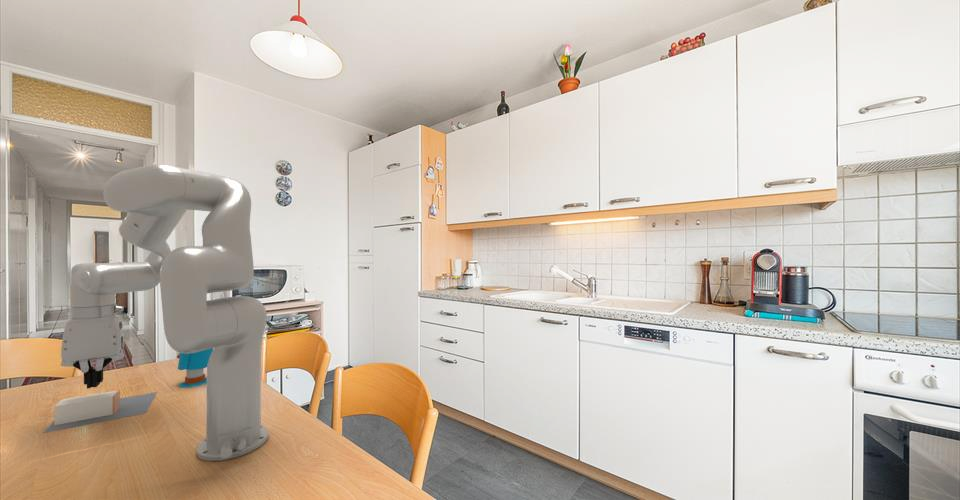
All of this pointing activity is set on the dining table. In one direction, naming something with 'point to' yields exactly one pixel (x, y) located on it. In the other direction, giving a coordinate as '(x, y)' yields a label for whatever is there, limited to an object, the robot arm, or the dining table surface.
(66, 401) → the block
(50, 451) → the dining table surface
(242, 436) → the robot arm
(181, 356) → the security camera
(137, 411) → the mat
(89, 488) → the dining table surface
